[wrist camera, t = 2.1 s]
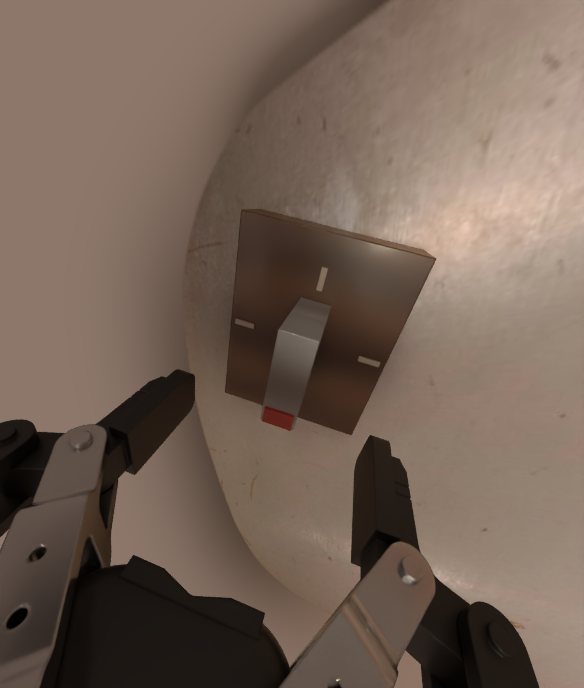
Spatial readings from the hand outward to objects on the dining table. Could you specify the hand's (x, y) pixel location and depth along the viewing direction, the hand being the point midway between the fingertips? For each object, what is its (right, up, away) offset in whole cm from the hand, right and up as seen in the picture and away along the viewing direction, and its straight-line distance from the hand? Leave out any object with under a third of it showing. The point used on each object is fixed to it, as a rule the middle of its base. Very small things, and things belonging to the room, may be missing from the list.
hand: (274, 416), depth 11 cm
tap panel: (+2, +5, +9) cm, 10 cm away
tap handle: (+2, +3, +6) cm, 7 cm away
